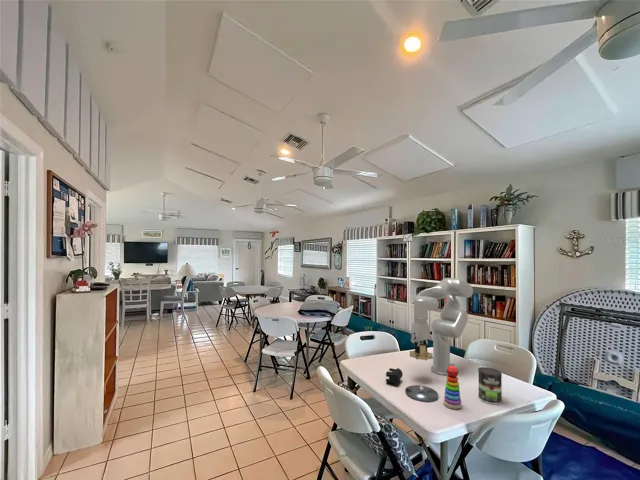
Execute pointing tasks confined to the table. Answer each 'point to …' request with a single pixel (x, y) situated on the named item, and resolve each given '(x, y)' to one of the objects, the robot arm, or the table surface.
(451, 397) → the stacking toy
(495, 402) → the coffee can
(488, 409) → the table surface
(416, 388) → the plate
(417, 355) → the tan faceted octagonal piece
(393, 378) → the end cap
